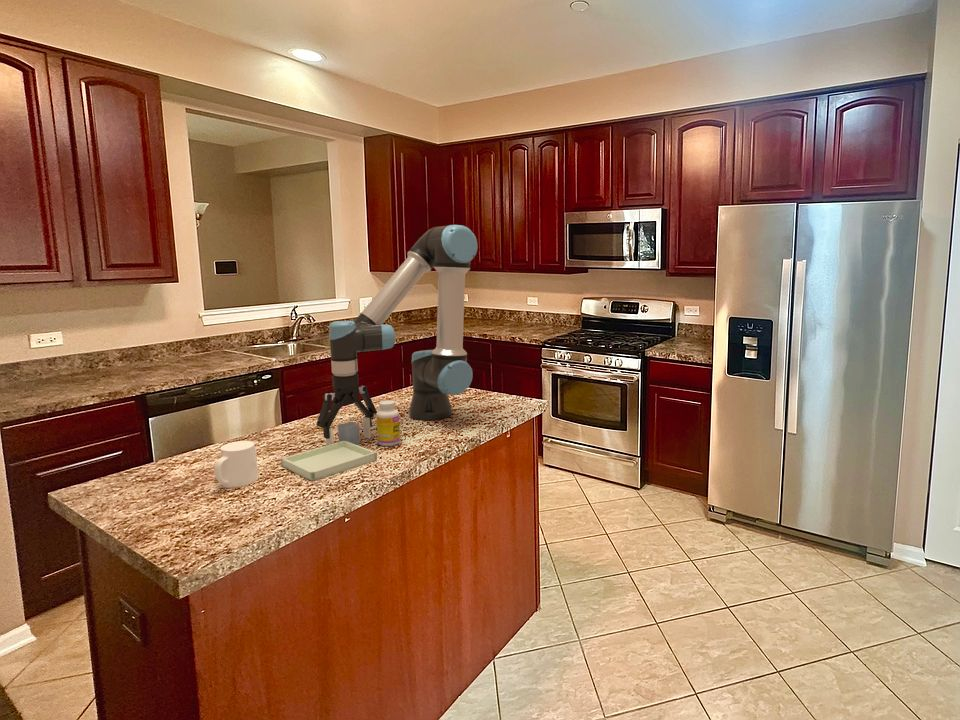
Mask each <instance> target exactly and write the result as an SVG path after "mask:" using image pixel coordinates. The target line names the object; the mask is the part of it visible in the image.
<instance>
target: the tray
mask: <svg viewBox="0 0 960 720" xmlns="http://www.w3.org/2000/svg"><path fill="white" fill-rule="evenodd" d="M377 453H378V452H376V451H374V450H371V449H369V448H365V447H363V446H360V445H359V444H356V445H355V444H353V443H350V442H347V441H345V440H344V441H340V442H339V441H337V442H334V443H333V444H330V445H327V444H326V445H324V446H320V447H317V448H313V449H310V450H305V451H303V452H299V453H296V454H292V455H288V456H285V457H282V458H280V463H281V464H280V465H281V467H282V468H285V470H286V469H287V470H288V471H291V472H292V473H295V474H296V475H299V476H300V477H303V478H304V479H306V480H309V481H311V482H315V481H318V480H320V479H324V478H327V477H329V476H333V475H336V474H338V473H341V472H345V471H348V470H351V469H354V468H357V467H360V466H363V465H366V464H369V463H372V462H375V461H378V454H377Z"/></svg>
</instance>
